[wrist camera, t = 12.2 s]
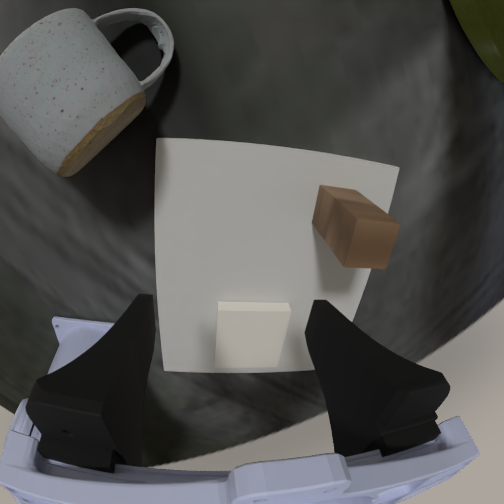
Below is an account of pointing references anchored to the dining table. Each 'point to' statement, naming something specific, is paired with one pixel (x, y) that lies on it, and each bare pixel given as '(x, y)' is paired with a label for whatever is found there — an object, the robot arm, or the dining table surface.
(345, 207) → the wooden block
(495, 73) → the plant pot
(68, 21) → the ceramic mug
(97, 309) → the dining table surface
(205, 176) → the mat
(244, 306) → the tile
